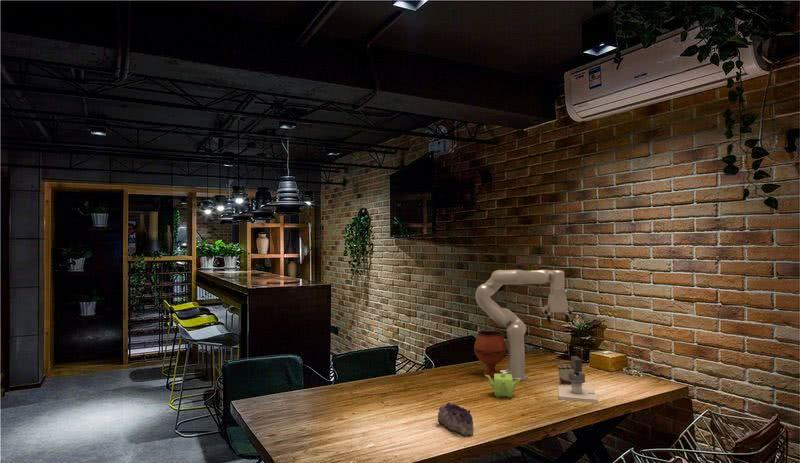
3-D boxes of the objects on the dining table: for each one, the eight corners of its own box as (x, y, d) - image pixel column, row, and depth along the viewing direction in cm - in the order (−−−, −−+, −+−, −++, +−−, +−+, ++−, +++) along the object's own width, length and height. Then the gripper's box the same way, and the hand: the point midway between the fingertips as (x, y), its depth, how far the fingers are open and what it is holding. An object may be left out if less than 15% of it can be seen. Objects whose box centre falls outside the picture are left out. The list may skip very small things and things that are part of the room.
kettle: (504, 402, 226) (503, 379, 226) (483, 394, 238) (482, 372, 238) (524, 396, 235) (523, 374, 235) (502, 389, 246) (502, 368, 247)
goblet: (468, 372, 280) (467, 331, 280) (494, 368, 288) (493, 328, 289) (486, 380, 262) (486, 336, 263) (514, 376, 270) (513, 333, 271)
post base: (558, 399, 230) (558, 385, 230) (557, 388, 247) (557, 375, 247) (597, 402, 224) (597, 388, 224) (594, 391, 241) (593, 378, 241)
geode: (485, 433, 189) (482, 409, 188) (462, 443, 183) (459, 418, 183) (456, 415, 207) (453, 394, 206) (434, 424, 201) (432, 401, 201)
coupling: (587, 383, 231) (586, 359, 232) (570, 383, 232) (570, 359, 232) (581, 378, 241) (581, 355, 241) (565, 377, 241) (565, 355, 242)
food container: (577, 382, 259) (577, 364, 259) (580, 385, 253) (580, 366, 253) (555, 381, 260) (554, 363, 260) (557, 384, 254) (557, 366, 254)
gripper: (571, 291, 264) (571, 321, 263) (540, 291, 265) (540, 321, 264) (575, 292, 257) (575, 323, 256) (543, 292, 258) (544, 323, 257)
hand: (557, 322), depth 260 cm, fingers open, 9 cm apart
